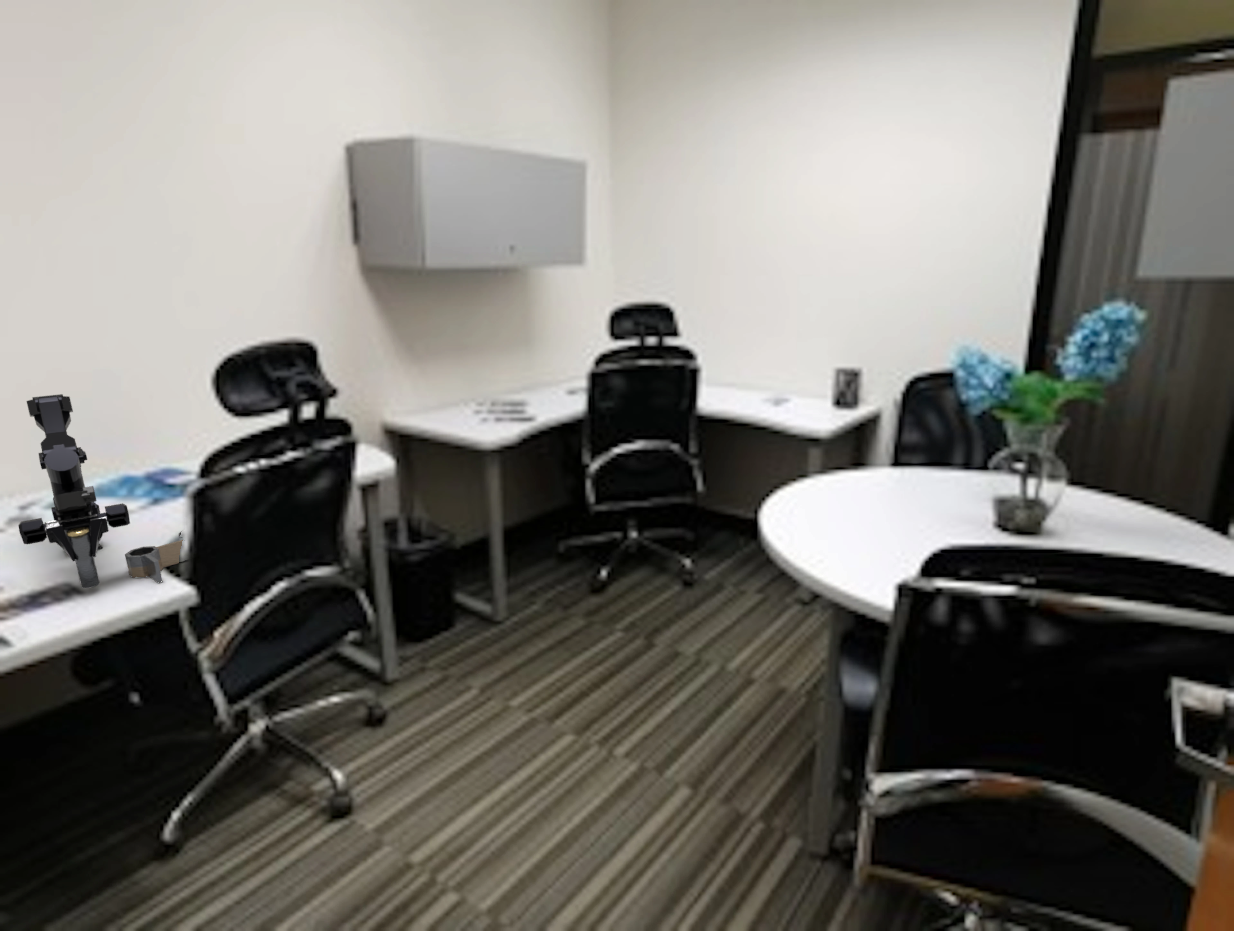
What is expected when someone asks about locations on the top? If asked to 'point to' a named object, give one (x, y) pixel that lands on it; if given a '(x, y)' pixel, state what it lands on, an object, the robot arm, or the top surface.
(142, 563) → the bronze hinge
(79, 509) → the robot arm
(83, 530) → the hinge pin
